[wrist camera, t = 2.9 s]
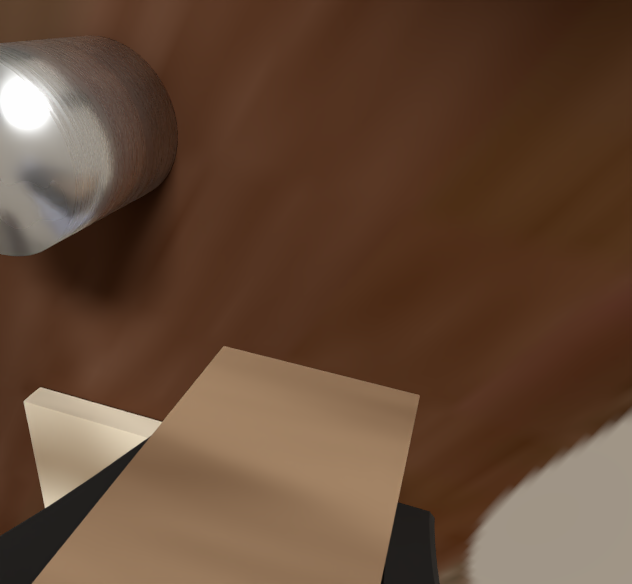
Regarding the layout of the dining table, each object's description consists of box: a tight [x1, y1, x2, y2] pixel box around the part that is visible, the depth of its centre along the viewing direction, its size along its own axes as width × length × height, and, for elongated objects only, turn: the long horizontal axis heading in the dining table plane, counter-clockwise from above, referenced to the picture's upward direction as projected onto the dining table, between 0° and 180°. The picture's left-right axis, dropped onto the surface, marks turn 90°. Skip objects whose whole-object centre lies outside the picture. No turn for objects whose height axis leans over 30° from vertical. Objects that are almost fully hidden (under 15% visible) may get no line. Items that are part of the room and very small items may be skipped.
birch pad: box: [24, 387, 162, 508], centre depth 20 cm, size 7×7×1 cm
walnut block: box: [32, 346, 420, 584], centre depth 9 cm, size 4×4×6 cm
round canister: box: [0, 36, 178, 256], centre depth 13 cm, size 4×4×4 cm
